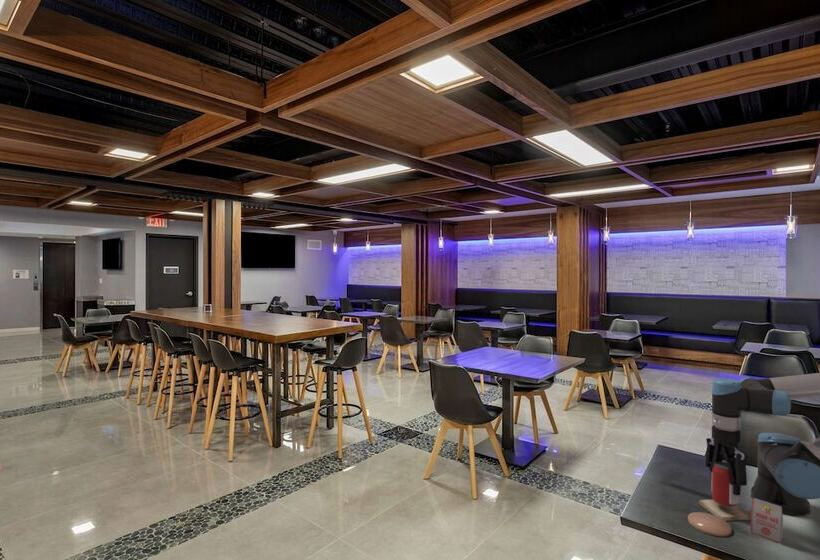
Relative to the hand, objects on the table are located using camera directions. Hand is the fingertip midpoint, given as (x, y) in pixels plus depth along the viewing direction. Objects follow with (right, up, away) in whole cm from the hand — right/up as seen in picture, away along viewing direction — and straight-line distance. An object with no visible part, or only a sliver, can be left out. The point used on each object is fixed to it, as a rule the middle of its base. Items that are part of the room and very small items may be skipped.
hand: (724, 497), depth 140 cm
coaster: (-10, -5, -8) cm, 14 cm away
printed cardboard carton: (+3, -5, -13) cm, 14 cm away
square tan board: (0, -4, 0) cm, 4 cm away
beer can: (0, -2, 0) cm, 2 cm away
